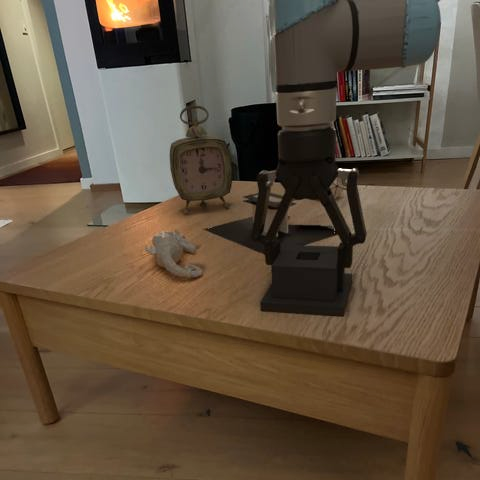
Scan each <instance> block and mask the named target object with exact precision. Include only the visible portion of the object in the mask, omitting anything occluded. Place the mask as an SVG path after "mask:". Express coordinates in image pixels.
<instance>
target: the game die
mask: <svg viewBox="0 0 480 480" xmlns="http://www.w3.org/2000/svg"><path fill="white" fill-rule="evenodd" d="M330 189H331V191H332V193H333V196H334V199H335V200H337V198H338V197H339V196H340V195H341V193H342V192H343V191H347V187H345V186H343V185H342V182H341V179H340V178H338V177H337V178H336V179H335V181H334V182H333V183H332V185H331V186H330Z"/></svg>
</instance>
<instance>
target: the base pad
mask: <svg viewBox="0 0 480 480" xmlns="http://www.w3.org/2000/svg"><path fill="white" fill-rule="evenodd" d="M352 285H353V273H345V278H344V287H343V290H342V291H337V294H336V298H335V301H322V300H306V299H289V298H273V292H272V282H271V283H270V285H269V287H268V288H267V290H266V292H265V293H264V294H263V297H262V298H261V300H260V302H259V303H260V312H271V313H285V314H286V313H287V314H299V315H300V314H301V315H315V316H331V317H332V316H333V317H345V313H346V309H347V305H348V302H349V297H350V293H351V289H352Z"/></svg>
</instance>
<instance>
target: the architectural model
mask: <svg viewBox="0 0 480 480" xmlns="http://www.w3.org/2000/svg"><path fill="white" fill-rule="evenodd" d="M285 191H286V190H285V189H284V192H285ZM283 196H284V195H281V194H277V193H273V192H270V197H269V203H268V209H267V215H266V221H265V226H264V232H268V229H269V227H270V225H271V223H272V221H273V218H274V216H275V214H276V212H277V210H278V207H279V205H280V203H281V200H282V198H283ZM242 198H243V199H244V200H242V202H243V203H245V204H250V205H251V207H252V208H251V209H252V216H249V217H245V218H242V219H241V218H240V219H238V220H233V221H230V222H226V223H222V224H218V225H215V226H211V227H212V228H210V227H207V228H204V229H203V230H205V229H207V230H205V231H207V232H210V233H212V234H214V235H217V236H219V237H222V238H224V239H227V240H229V241H231V242H234V243H235V244H238V245H241V246H243V247H246V248H248V249H251V250H253V251H256V252H258V253H261V254H262V255H265V247H264V244H263V243H261V242H259V241H253V240H252V238H251V236H252V229H253V223H254V217H255V210H256V204H257V198H258V192H256V193H253V194H248V195H244V196H242ZM294 201H296V200H295V199H293V201H292V203H291V205H290V207H293V206H295V205H297V203H296V202H294ZM288 212H289V210H288V211H287V214H286V216H285V218H284V220H283V222H282V224H281V226H280V229H279V231H278V233H277V235H276V238H275V239H274V242H275V241H280V251H281V250H282V249H283V247H284V246H285V245H303V246H306V245H308V244H311V243H315V242H318V241H321V240H324V239H327V238H331V237H334V236H338V234H337V232H336V230H335V231H334V229H335V228H332V227H328V226H325V225H321V224H289V220H290V219H291V216H290V215H289V213H288ZM208 228H209V229H208ZM334 232H335V233H334Z"/></svg>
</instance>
